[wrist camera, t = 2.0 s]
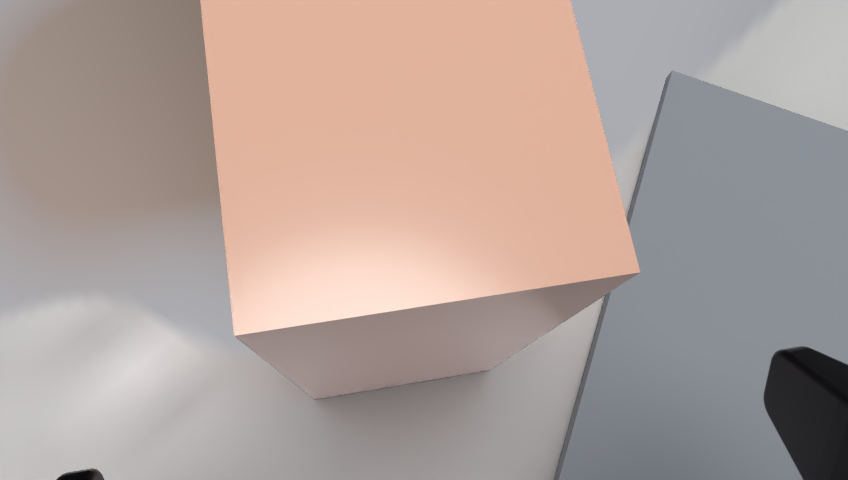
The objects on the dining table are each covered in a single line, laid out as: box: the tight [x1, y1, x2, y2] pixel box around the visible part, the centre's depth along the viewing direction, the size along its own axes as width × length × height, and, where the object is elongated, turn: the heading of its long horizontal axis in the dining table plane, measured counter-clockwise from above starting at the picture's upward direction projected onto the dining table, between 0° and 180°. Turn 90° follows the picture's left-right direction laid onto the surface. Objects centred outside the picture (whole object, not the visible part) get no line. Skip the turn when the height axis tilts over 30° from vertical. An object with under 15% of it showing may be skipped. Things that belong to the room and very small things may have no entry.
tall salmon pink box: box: [200, 0, 640, 400], centre depth 15 cm, size 5×5×12 cm
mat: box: [554, 71, 848, 480], centre depth 21 cm, size 14×14×1 cm
